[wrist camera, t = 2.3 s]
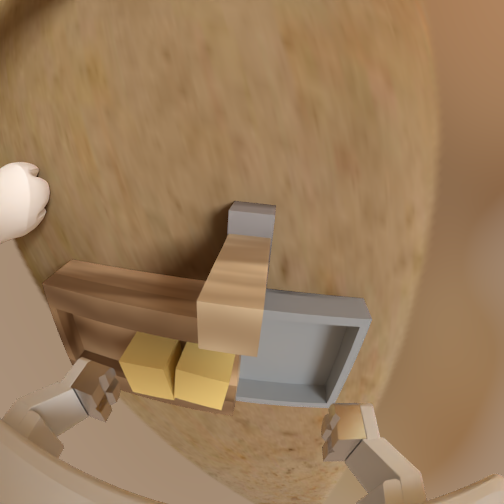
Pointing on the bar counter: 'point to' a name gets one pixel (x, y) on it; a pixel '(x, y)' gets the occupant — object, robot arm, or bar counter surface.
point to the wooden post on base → (238, 283)
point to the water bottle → (21, 199)
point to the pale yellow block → (151, 364)
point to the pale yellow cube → (203, 376)
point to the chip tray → (303, 349)
